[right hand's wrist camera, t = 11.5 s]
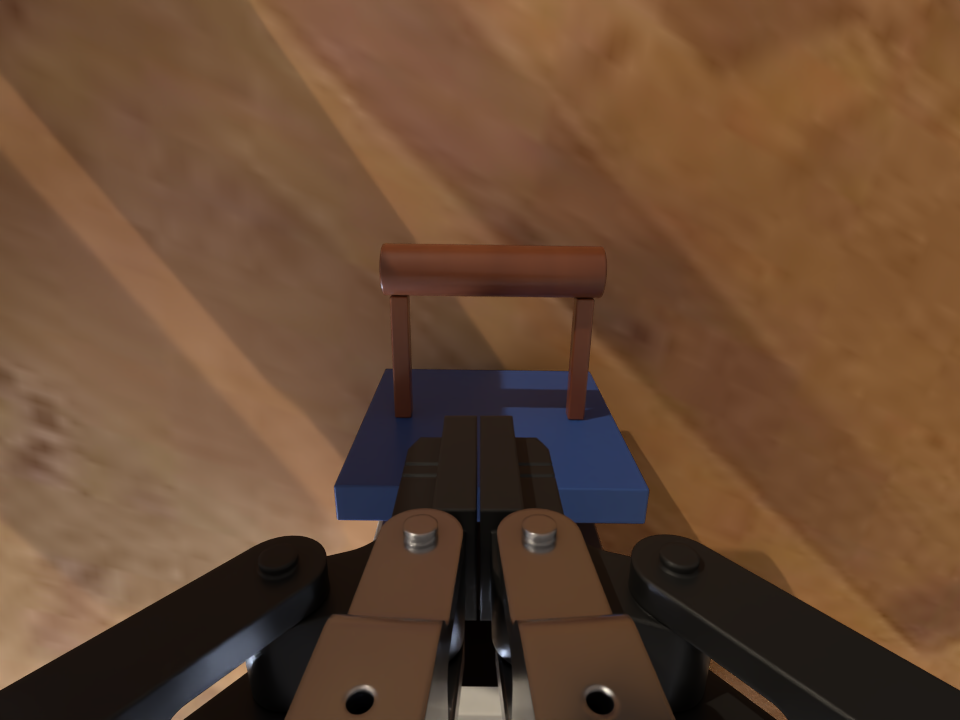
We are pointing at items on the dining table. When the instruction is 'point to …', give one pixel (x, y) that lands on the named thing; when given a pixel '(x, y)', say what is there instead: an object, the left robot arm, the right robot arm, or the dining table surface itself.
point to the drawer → (494, 399)
